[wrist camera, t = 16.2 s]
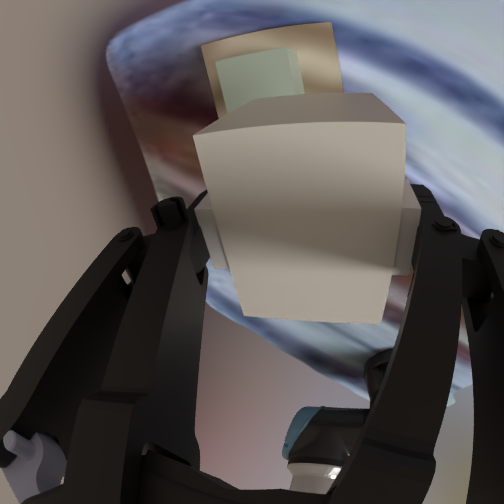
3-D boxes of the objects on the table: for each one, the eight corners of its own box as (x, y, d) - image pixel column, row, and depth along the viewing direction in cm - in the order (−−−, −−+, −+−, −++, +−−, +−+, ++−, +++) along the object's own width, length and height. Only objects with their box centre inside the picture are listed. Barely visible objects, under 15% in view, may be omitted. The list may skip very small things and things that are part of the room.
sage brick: (309, 122, 27) (302, 139, 22) (255, 128, 29) (234, 146, 24) (296, 51, 23) (285, 47, 17) (240, 60, 25) (215, 61, 19)
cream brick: (372, 229, 16) (380, 323, 11) (275, 227, 18) (243, 315, 13) (372, 93, 11) (406, 123, 6) (252, 99, 13) (192, 135, 8)
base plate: (348, 143, 29) (349, 147, 28) (232, 152, 33) (228, 156, 32) (331, 24, 21) (330, 22, 20) (206, 46, 25) (200, 45, 24)
